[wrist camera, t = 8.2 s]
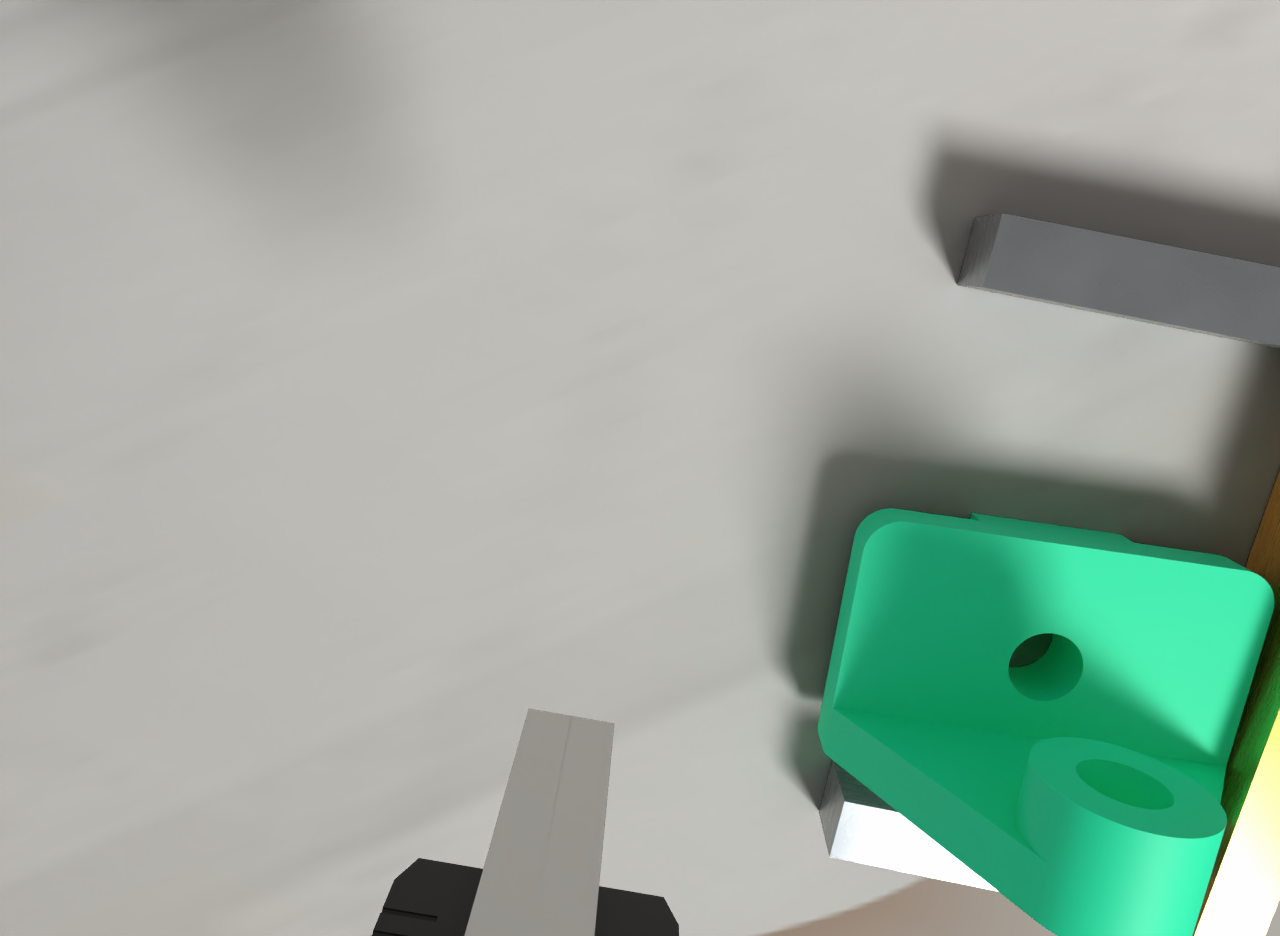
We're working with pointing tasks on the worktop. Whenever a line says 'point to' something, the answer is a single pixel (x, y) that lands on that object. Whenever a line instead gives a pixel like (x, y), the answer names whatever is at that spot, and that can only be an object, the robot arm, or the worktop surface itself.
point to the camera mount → (1048, 707)
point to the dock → (1276, 703)
